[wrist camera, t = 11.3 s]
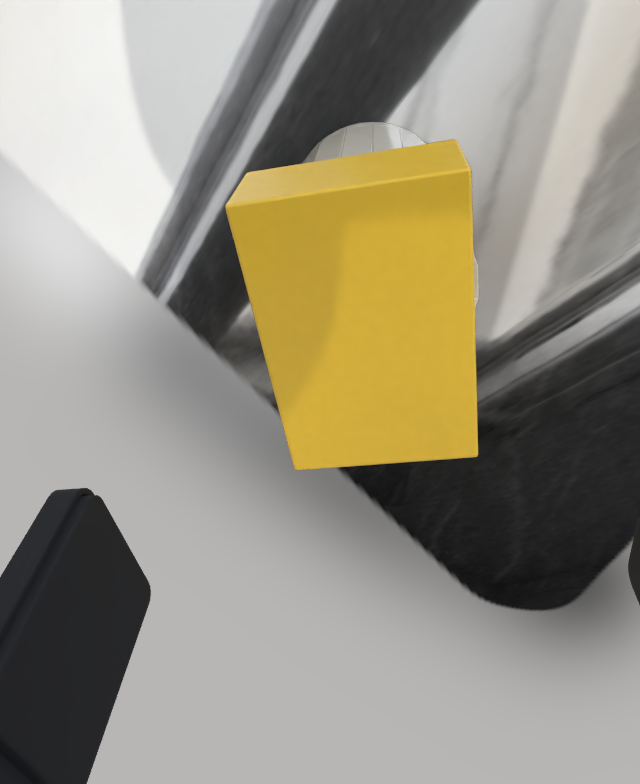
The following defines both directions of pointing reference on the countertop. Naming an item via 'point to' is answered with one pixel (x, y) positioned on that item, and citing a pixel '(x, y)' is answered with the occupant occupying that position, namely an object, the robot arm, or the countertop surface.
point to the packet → (365, 303)
